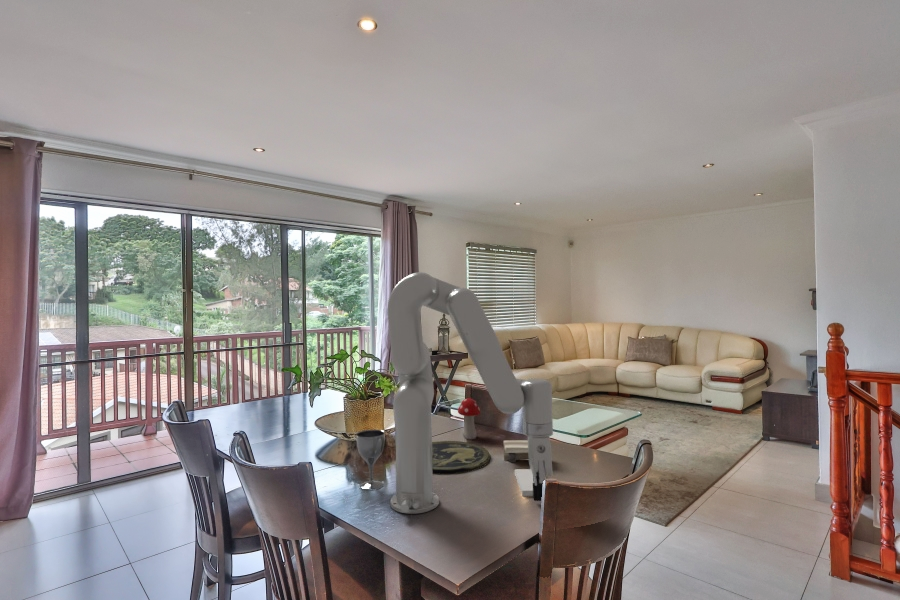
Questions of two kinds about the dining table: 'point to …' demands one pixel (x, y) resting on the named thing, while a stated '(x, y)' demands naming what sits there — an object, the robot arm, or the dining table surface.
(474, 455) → the decorative plate
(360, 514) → the dining table surface
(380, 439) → the wine glass
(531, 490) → the tile
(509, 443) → the low shelf
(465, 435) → the decorative mushroom
